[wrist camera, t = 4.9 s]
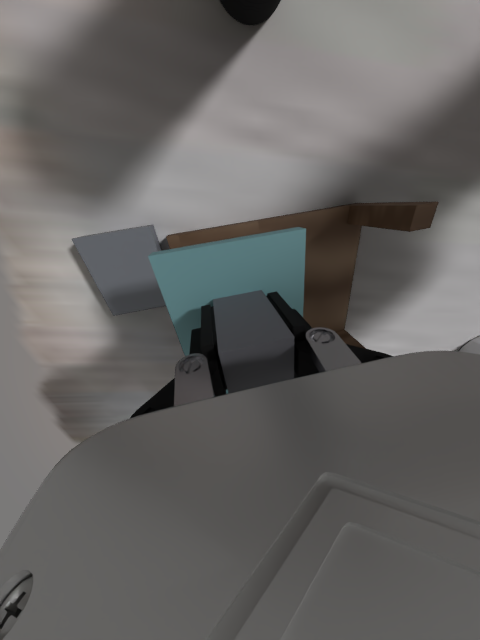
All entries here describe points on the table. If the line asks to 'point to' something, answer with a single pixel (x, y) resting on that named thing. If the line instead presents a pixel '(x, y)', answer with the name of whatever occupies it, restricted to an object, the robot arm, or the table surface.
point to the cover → (238, 300)
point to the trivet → (123, 267)
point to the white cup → (472, 346)
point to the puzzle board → (325, 249)
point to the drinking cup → (250, 10)
